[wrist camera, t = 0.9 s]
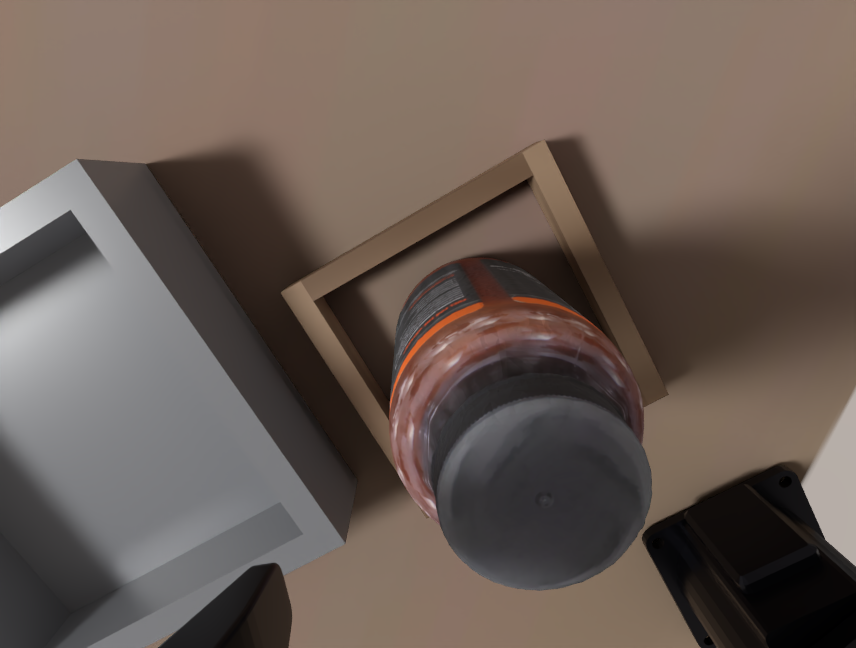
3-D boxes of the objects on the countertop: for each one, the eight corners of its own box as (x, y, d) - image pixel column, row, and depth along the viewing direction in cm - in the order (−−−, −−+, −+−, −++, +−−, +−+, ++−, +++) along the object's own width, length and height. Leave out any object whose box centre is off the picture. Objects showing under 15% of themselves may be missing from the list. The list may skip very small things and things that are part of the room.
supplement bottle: (377, 383, 21) (336, 596, 10) (423, 233, 20) (432, 294, 9) (524, 425, 22) (632, 669, 11) (578, 281, 21) (765, 395, 10)
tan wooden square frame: (651, 379, 22) (668, 394, 20) (426, 496, 23) (426, 518, 21) (534, 143, 19) (544, 139, 18) (290, 284, 20) (280, 292, 19)
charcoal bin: (357, 480, 22) (345, 543, 18) (75, 629, 24) (9, 716, 20) (145, 163, 19) (76, 158, 15) (-164, 357, 21) (-299, 398, 17)
